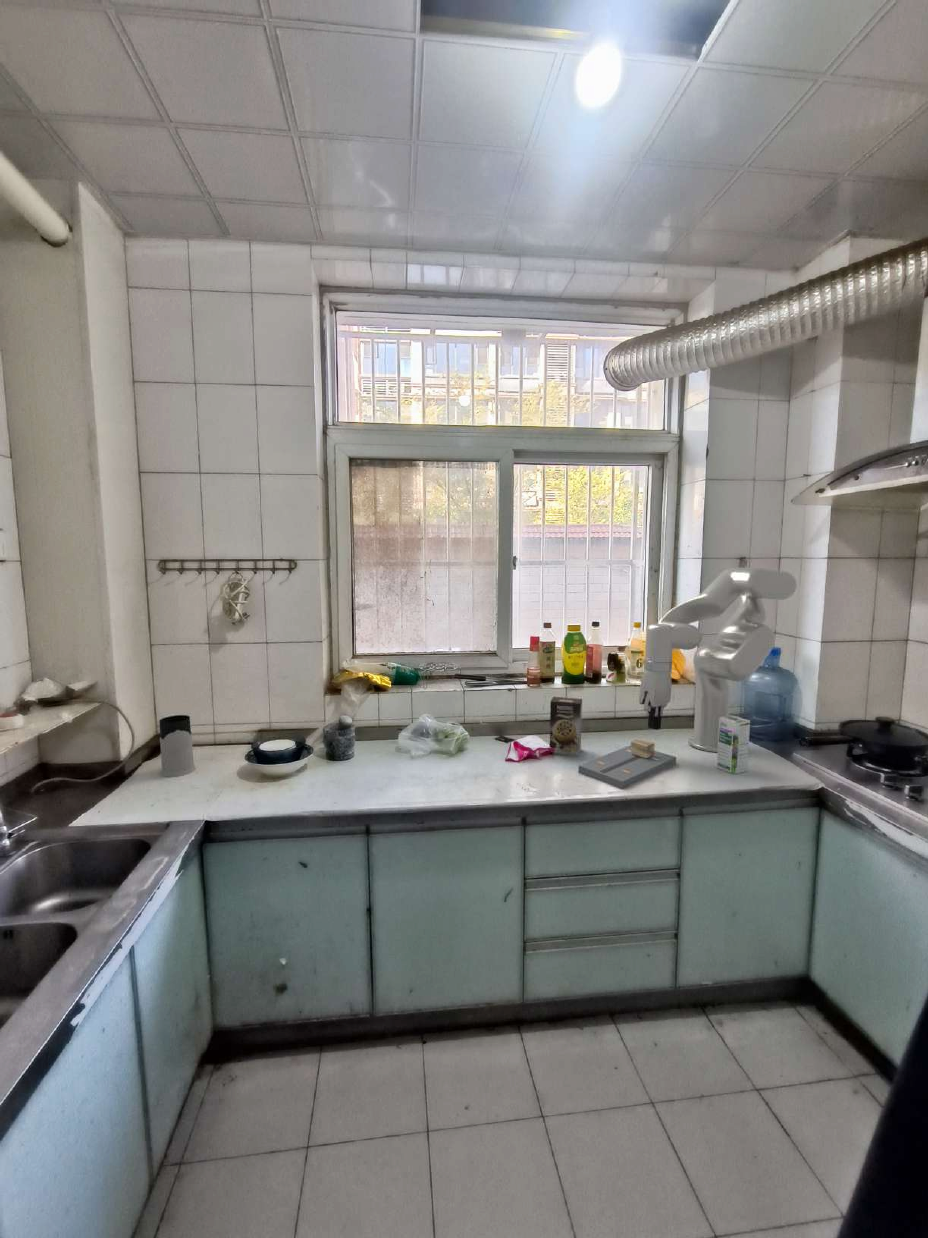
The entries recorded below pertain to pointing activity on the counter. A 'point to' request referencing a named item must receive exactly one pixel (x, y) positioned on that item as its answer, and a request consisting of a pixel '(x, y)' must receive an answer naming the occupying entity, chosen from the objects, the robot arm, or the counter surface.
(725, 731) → the syrup box
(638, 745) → the block
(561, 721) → the cookie box
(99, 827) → the counter surface
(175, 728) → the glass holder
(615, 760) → the board
